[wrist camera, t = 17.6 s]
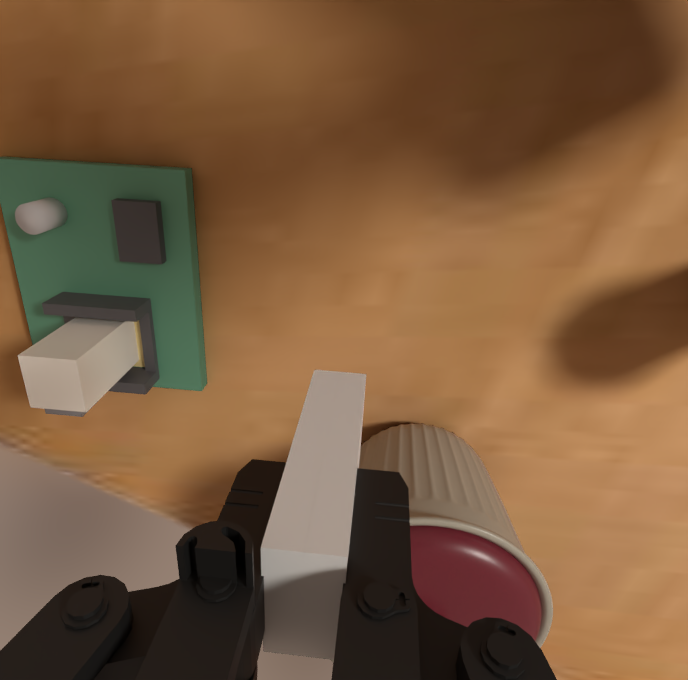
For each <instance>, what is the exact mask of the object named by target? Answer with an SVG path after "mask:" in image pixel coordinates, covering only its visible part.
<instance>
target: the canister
mask: <svg viewBox="0 0 688 680" xmlns="http://www.w3.org/2000/svg"><path fill="white" fill-rule="evenodd" d="M359 468H362V469H372V470H382V471H393V472H399V473H400V474H401V476H402V478H403V479H404V481H405V483H406V485H407V486H408V488H409V514H410V539H411V565H412V579H413V585H414V587H415V589H416V592H417V594H418V595H419V597H420V598H421V599H422V601H423V602H424V603H425V604H426V605H427V606H428V607H429V608H431V609H432V610H433V611H434V612H436V613H438V614H439V615H441V616H443V617H445V618H447V619H449V620H452V621H454V622H456V623H459V624H461V625H464V626H466V627H468V626H469V625H470V624H471V623H472V622H473V621H476V620H479V619H482V618H485V617H490V618H502V619H504V620H507V621H509V622H512V623H514V624H516V625H518V626H519V627H521V628H522V629H523V630H524V631H526V632H527V633H528V634H529V635H531V636H532V638H533V639H534V640H535V642H536V643H537V645H538V646H539V647H541V646H542V644H543V643H544V641H545V639H546V637H547V635H548V633H549V630H550V627H551V623H552V616H553V604H552V597H551V593H550V590H549V587H548V584H547V582H546V580H545V578H544V576H543V574H542V573H541V571H540V570H539V568H538V567H537V566H536V564H535V563H534V562H533V561H532V560H531V559H530V558H529V557H528V556H527V555H526V554H525V552H524V550H523V547H522V545H521V543H520V541H519V539H518V536H517V534H516V532H515V530H514V527H513V525H512V523H511V521H510V518H509V516H508V514H507V511H506V509H505V507H504V505H503V503H502V500H501V498H500V496H499V494H498V492H497V490H496V488H495V486H494V484H493V482H492V480H491V477H490V475H489V473H488V471H487V470H486V468H485V466H484V464H483V462H482V460H481V459H480V457H479V456H478V455H477V454H476V453H475V451H474V450H473V448H472V447H471V446H470V445H468V444H466V442H465V441H464V440H463V439H462V438H460V437H457V436H456V435H455V434H454V433H453V432H448V431H446V430H445V429H444V428H438V427H435V426H434V425H425V424H422V423H421V424H413V423H410V424H407V425H403V424H401V425H399V426H395V427H390V428H389V429H386V430H382V431H380V432H379V433H378V434H376V435H373V436H372V437H371V438H370V439H369V440H368V441H365V442H364V443H363V444H362V446H361V449H360V460H359ZM330 660H331V659H330ZM331 661H333V662H334V660H331Z"/></svg>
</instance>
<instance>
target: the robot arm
mask: <svg viewBox="0 0 688 680" xmlns="http://www.w3.org/2000/svg"><path fill="white" fill-rule="evenodd" d="M365 384H366V374H359V373H347V372H336V371H324V370H314V373H313V376H312V379H311V383H310V386H309V389H308V393H307V396H306V399H305V403H304V406H303V409H302V412H301V416H300V419H299V422H298V426H297V429H296V432H295V436H294V439H293V442H292V446H291V449H290V452H289V455H288V459H287V462H286V463H285V462H275V461H264V460H254V459H252V460H251V461H250V462H249V463H248V464H247V465H246V466H245V467H243V468H242V469H241V470H240V471H239V472H238V474H237V476H236V478H235V481H234V483H233V485H232V488H231V492H229V495H228V497H227V499H226V502H225V505H224V506H223V509H222V511H221V513H220V516H219V518H218V520H217V521H213V522H208V523H205V524H202V525H199V526H196V527H195V528H193V529H192V530H190V531H189V532H187V533H186V534H184V535H183V537H182V538H181V539H180V541H179V542H178V543H177V545H176V552H177V561H178V569H179V577H180V579H178V580H176V581H174V582H172V583H170V584H166V585H163V586H159V587H154V588H149V589H144V590H137V591H132V592H128V591H127V588H126V586H125V584H124V583H122V582H121V581H119V580H118V579H117V578H115V577H110V576H104V575H98V576H93V577H87V578H83V579H81V580H79V581H77V582H74V583H72V584H70V585H68V586H67V587H66V588H65V589H63V590H62V591H61V592H59V593H58V594H57V595H55V596H54V597H53V598H52V599H51V600H50V601H49V602H48V603H47V604H46V605H45V606H44V607H43V608H42V609H41V610H40V612H38V613H37V614H36V616H34V618H32V619H31V621H29V622H28V623H27V624H26V625H25V626H24V627H23V628H22V630H20V631H19V632H18V634H17V635H16V636H15V637H14V638H13V639H12V640H11V641H10V642H9V643H8V644H7V645H6V646H5V647H4V648H3V649H2V650H1V651H0V680H257V660H258V656H259V652H260V648H261V644H262V640H263V651H264V652H272V653H281V654H289V655H298V656H306V657H315V658H323V659H331V660H334V663H333V672H332V680H557V679H556V677H555V675H554V673H553V671H552V669H551V668H550V666H549V664H548V662H547V660H546V658H545V656H544V654H543V652H542V650H541V649H540V647H539V646H538V645H537V643H536V642H535V640H534V639H533V638H532V636H531V635H529V634H528V633H527V632H526V631H524V630H523V629H522V628H521V627H519V626H518V625H516V624H514V623H512V622H509V621H507V620H504V619H502V618H490V617H485V618H482V619H479V620H476V621H473V622H472V623H471V624H470V625H469V626H468V627H466V626H464V625H461V624H459V623H456V622H454V621H452V620H449V619H447V618H445V617H443V616H441V615H439V614H438V613H436V612H434V611H433V610H432V609H431V608H429V607H428V606H427V605H426V604H425V603H424V602H423V601H422V599H421V598H420V597H419V595H418V594H417V592H416V589H415V587H414V585H413V579H412V565H411V539H410V514H409V488H408V486H407V485H406V483H405V481H404V479H403V478H402V476H401V474H400V473H399V472H393V471H382V470H372V469H362V468H359V460H360V449H361V436H362V423H363V410H364V397H365Z"/></svg>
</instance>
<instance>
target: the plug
mask: <svg viewBox="0 0 688 680" xmlns="http://www.w3.org/2000/svg"><path fill="white" fill-rule="evenodd" d="M18 359H19V363H20V367H21V371H22V375H23V379H24V383H25V388H26V392H27V396H28V400H29V404H30V407H32V408H44V409H45V412H46V413H47V414H58V415H69V416H80V417H83V416H84V415H85V414H86V413H87V412H88V411H89V410H90V409H91V408H92V407H93V406H94V405H95V404H96V403H97V402H98V400H99V399H100V398H101V397H102V396H103V395H104V394H105V393H106V392H107V391H108V390H109V389H110V388H111V387H112V386H113V385H114V384H115V383H117V382H118V381H119V380H120V379H121V378H122V377H123V376H124V375H125V374H126V373H127V372H128V371H129V370H130V369H131V368H132V367H133V366H134V365H135V364H136V363H137V362H138V361H139V355H138V347H137V340H136V333H135V325H134V322H131V321H118V320H106V319H94V318H82V317H75V318H74V319H72V320H71V321H69V322H67V323H66V324H64V325H63V326H61V327H60V328H58V329H57V330H55V331H54V332H52V333H51V334H49V335H48V336H46V337H45V338H43V339H42V340H40V341H39V342H37V343H36V344H34V345H33V346H31V347H29V348H28V349H26V350H25V351H23V352H22V353H20V354H19V355H18Z"/></svg>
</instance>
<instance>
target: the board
mask: <svg viewBox="0 0 688 680" xmlns="http://www.w3.org/2000/svg"><path fill="white" fill-rule="evenodd" d="M0 204H1V208H2V212H3V217H4V221H5V226H6V230H7V234H8V239H9V243H10V247H11V252H12V256H13V261H14V265H15V269H16V274H17V278H18V283H19V287H20V291H21V296H22V300H23V305H24V309H25V313H26V318H27V322H28V326H29V331H30V335H31V340H32V344H33V345H34V344H36V343H37V342H39V341H40V340H42V339H43V338H45V337H46V336H48V335H49V334H51V333H52V332H54V331H55V330H57V329H58V328H60V327H61V326H63V325H64V324H66V323H67V322H69V321H71V320H72V319H74V318H75V317H82V318H94V319H106V320H118V321H131V322H134V325H135V333H136V340H137V347H138V355H139V361H138V362H137V363H136V364H135V365H134V366H133V367H132V368H131V369H130V370H129V371H128V372H127V373H126V374H125V375H124V376H123V377H122V378H121V379H120V380H119V381H118V382H117V383H115V384H114V385H113V386H112V387H111V388H110V389H109V390H108V391H114V392H125V393H136V394H147V392H148V391H149V390H150V389H151V388H152V387H162V388H173V389H184V390H195V391H202V390H203V389H204V387H205V386H206V384H207V375H206V361H205V347H204V333H203V319H202V306H201V292H200V278H199V264H198V250H197V236H196V223H195V209H194V195H193V181H192V168H179V167H163V166H147V165H131V164H115V163H99V162H83V161H67V160H51V159H35V158H19V157H0Z"/></svg>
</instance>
